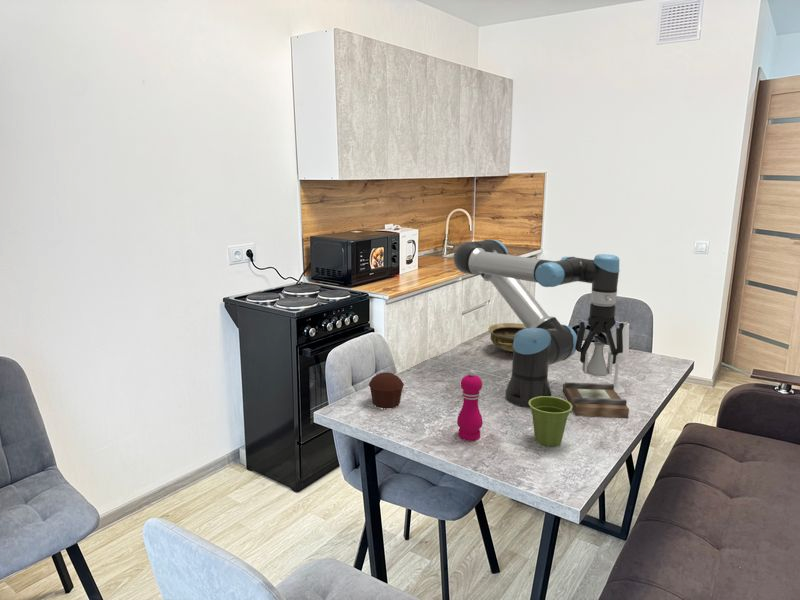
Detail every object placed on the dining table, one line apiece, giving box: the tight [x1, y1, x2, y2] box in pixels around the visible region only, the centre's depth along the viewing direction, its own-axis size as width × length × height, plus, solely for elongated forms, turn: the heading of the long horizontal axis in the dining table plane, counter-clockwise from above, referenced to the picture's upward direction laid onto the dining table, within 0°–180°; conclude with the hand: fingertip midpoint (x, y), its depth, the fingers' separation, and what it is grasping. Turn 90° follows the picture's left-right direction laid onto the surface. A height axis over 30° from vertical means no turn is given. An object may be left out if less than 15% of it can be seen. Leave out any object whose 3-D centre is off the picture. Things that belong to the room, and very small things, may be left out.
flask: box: [586, 342, 609, 377], centre depth 181 cm, size 7×7×10 cm
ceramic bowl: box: [488, 322, 526, 356], centre depth 235 cm, size 30×24×10 cm
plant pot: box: [529, 396, 573, 447], centre depth 157 cm, size 12×12×11 cm
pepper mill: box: [456, 369, 483, 442], centre depth 159 cm, size 7×7×20 cm
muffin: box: [368, 371, 405, 410], centre depth 182 cm, size 12×11×10 cm
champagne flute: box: [607, 321, 630, 394], centre depth 194 cm, size 7×7×24 cm
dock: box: [561, 381, 630, 419], centre depth 184 cm, size 16×20×4 cm
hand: (596, 372), depth 182 cm, fingers closed on flask, 7 cm apart
